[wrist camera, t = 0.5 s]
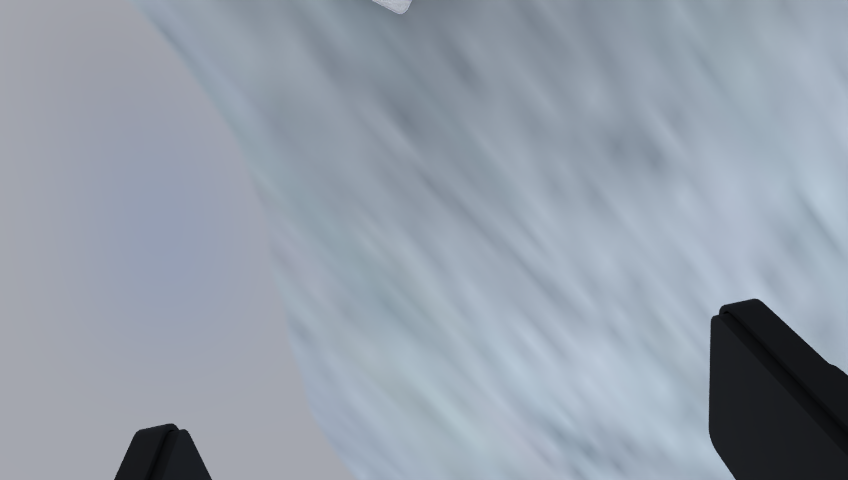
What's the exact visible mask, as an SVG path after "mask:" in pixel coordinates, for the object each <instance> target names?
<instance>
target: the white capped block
mask: <svg viewBox="0 0 848 480" xmlns="http://www.w3.org/2000/svg"><path fill="white" fill-rule="evenodd" d="M372 1H374V2H376V3H378V4H380V5H382V6H384V7H386V8H387V9H389V10H391V11H393V12H395V13H398V14H402V13H405V12H406V11H407V10H408V8H409V6H410V4H411V1H412V0H372Z"/></svg>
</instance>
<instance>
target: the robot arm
mask: <svg viewBox="0 0 848 480" xmlns="http://www.w3.org/2000/svg"><path fill="white" fill-rule="evenodd" d="M709 434H710V438H711V441H712V444H713V446H714V448H715V450H716V451H717V453H718V454H719V456H720V457H721V459H722V460H723V462H724V463H725V465H726V466H727V467H728V469H729V470H730V472H731V473H732V475H733V476H734V478H735V479H736V480H848V375H847V374H845V373H844V372H843V371H842V370H840V369H839V368H838V367H836V366H834V365H831V364H829V363H828V362H827V361H826V360H824V359H823V358H822V357H821V356H820V355H819V354H818V353H817V352H816V351H815V350H814V349H813V348H812V347H810V346H809V345H808V344H807V343H806V342H805V341H804V340H803V339H802V338H801V337H800V336H799V335H797V334H796V333H795V332H794V331H793V330H792V329H791V328H790V327H789V326H788V325H787V324H786V323H785V322H783V321H782V320H781V319H780V318H779V317H778V316H777V315H776V314H775V313H774V312H773V311H772V310H771V309H769V308H768V307H767V306H766V305H765V304H764V303H763V302H762V301H760V300H759V299H750V300H746V301H741V302H736V303H732V304H727V305H724V306H722V307H721V308H720V310H719V315H716V316H713V317H712V319H711V337H710V389H709ZM114 480H212V479H211V477H210V475H209V473H208V471H207V469H206V467H205V465H204V463H203V461H202V459H201V457H200V455H199V453H198V450H197V448H196V446H195V444H194V442H193V440H192V438H191V436H190V434H189V433H188V431H187V430H185V429H182V430H179V429H178V428H177V426H176V425H174V424H165V425H161V426H156V427H151V428H146V429H142V430H139V431H138V432H136V434H135V435H134V437H133V439H132V441H131V444H130V446H129V448H128V450H127V452H126V455H125V457H124V459H123V461H122V463H121V466H120V468H119V470H118V472H117V475H116V477H115V479H114Z"/></svg>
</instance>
